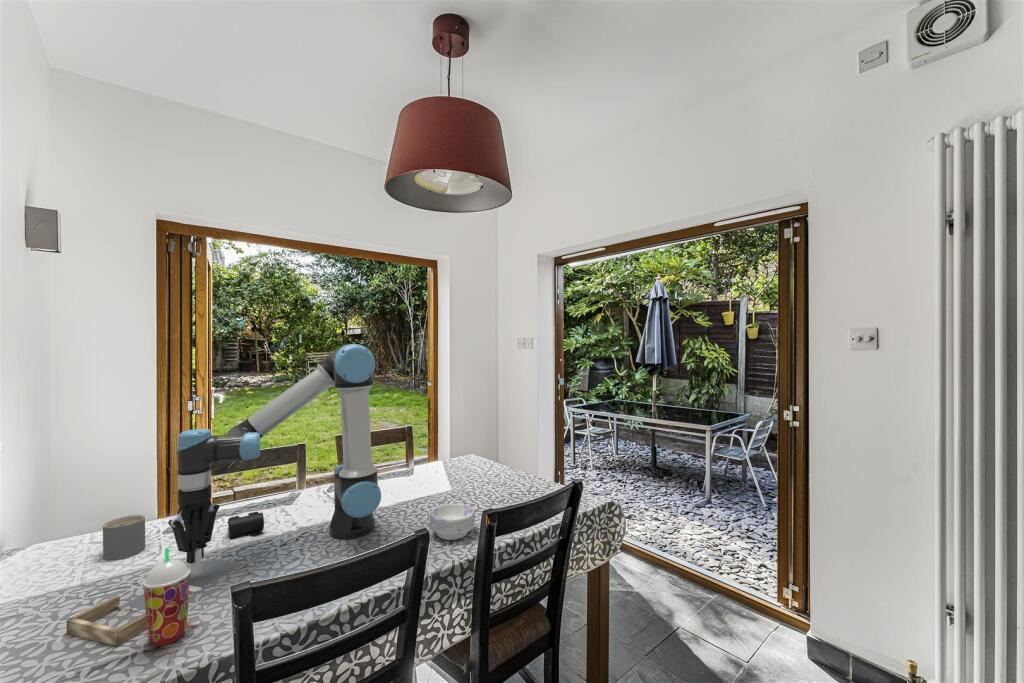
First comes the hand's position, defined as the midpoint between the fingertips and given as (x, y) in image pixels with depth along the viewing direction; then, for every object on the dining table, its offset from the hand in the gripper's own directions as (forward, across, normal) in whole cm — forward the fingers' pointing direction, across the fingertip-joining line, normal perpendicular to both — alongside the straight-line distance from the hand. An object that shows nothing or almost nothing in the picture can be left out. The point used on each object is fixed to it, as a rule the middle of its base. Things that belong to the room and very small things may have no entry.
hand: (195, 572), depth 121 cm
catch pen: (+3, +19, 0) cm, 19 cm away
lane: (+3, +2, 0) cm, 3 cm away
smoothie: (+3, +19, +16) cm, 25 cm away
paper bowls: (+3, -46, +56) cm, 73 cm away
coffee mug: (+3, -8, -40) cm, 41 cm away
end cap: (+3, -27, -12) cm, 30 cm away
